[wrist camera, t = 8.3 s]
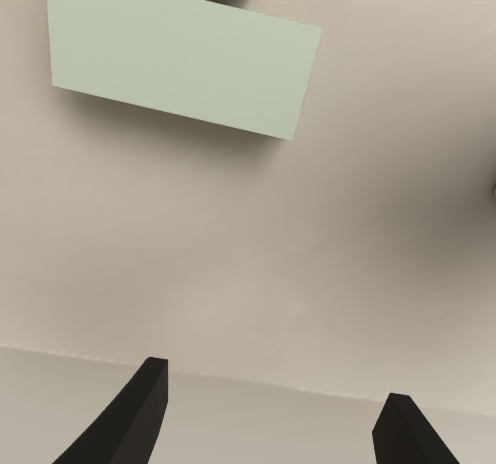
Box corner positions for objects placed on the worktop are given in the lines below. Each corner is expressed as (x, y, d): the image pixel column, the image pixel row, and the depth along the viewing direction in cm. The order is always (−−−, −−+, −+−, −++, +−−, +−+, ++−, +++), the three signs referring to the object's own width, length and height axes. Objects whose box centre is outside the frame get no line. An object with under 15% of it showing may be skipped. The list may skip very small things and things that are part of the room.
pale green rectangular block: (313, 38, 14) (322, 28, 11) (289, 128, 16) (292, 141, 13) (95, -13, 14) (44, -38, 11) (96, 83, 16) (52, 85, 13)
